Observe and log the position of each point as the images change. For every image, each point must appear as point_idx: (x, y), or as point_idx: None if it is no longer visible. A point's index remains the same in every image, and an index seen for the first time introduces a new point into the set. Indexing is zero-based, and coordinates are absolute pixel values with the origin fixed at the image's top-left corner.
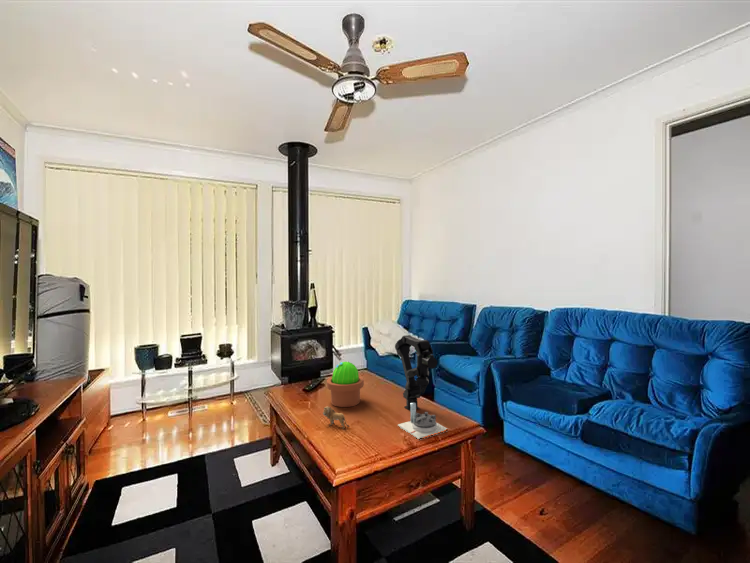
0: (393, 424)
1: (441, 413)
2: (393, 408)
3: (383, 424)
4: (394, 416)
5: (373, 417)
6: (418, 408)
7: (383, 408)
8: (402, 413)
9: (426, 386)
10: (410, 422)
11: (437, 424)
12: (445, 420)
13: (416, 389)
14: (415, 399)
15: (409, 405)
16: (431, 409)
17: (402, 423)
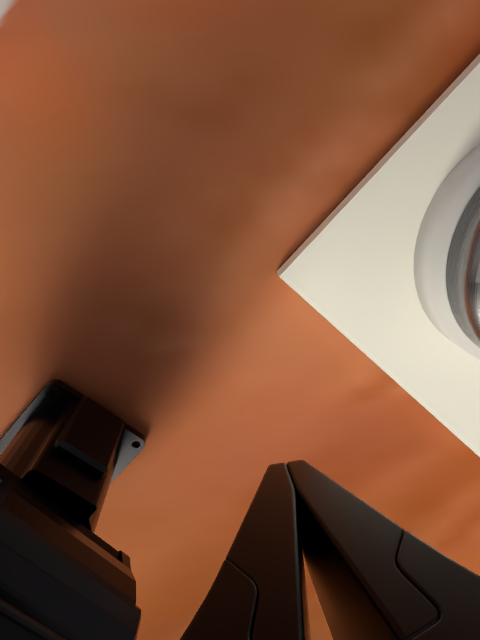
0: (442, 486)
1: (79, 124)
2: (139, 564)
3: (450, 540)
4: None
5: None
6: (68, 388)
7: (167, 618)
8: (218, 483)
9: (465, 569)
10: (437, 384)
11: (454, 121)
12: (269, 46)
13: (21, 606)
14: (62, 479)
15: (109, 482)
16: (11, 259)
17: (462, 436)
